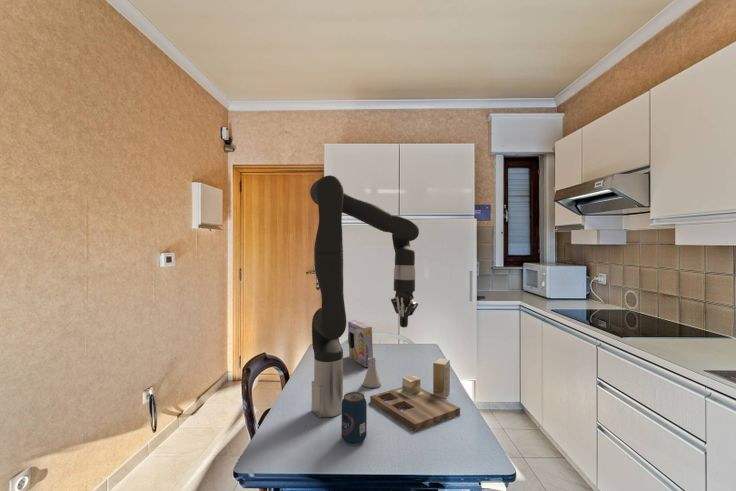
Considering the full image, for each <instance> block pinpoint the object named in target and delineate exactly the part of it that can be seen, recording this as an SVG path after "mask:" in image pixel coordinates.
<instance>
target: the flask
mask: <svg viewBox="0 0 736 491" xmlns="http://www.w3.org/2000/svg"><path fill="white" fill-rule="evenodd" d="M368 361H369V365H368V367H367V370H366V374H365V377H364V379H363V382H362V385H363V387H364V388H369V389H371V388H373V389H375V388H376V389H378V388H379V387H381V386H382V382H381V379H380V377H379V373H378V371H377V365H376V361H377V358H376V357H373V358H369V359H368Z"/></svg>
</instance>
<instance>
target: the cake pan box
mask: <svg viewBox="0 0 736 491" xmlns="http://www.w3.org/2000/svg"><path fill="white" fill-rule="evenodd" d="M347 328H348V329H347V331H348V333H347V342H348V356H349V358H350V359H352V360H354V361H355V362H356V363H358V364H360V365H361V366H363V367H364V368H368V365H369V361H368V359H369V358H374V355H373V354H374V350H373V349H374V348H373V329H372V328H373V327H372V326H370V325H368V324H366V323H365V322H363V321H362V322H361V321H359V320H357V319H353V320H347Z"/></svg>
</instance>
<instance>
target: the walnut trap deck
mask: <svg viewBox="0 0 736 491" xmlns="http://www.w3.org/2000/svg"><path fill="white" fill-rule="evenodd" d="M369 398H370V399H369V402H370V403H371V404H373V405H374V406H376V407H378V408H379V409H381V410H382V411H383V412H385V413H387V414H388V415H390V416H391V417H392V418H394V419H396V420H397V421H399V422H400V423H402V424H403V425H405V426H407V428H410V429H411V430H412V431H415V432H417V431H419V430H422V429H424V428H427V427H429V426H433V425H435V424H437V423H441V422H443V421H445V420H448V419H450V418H454V417H456V416H458V415H461V407H459V406H457V404H456V405H455V404H454V403H452V402H449V400H446V399H443V398H440V397H438V396H436V395H433V393H431V392H429V391H428V390H425V389H423V388H421V387H420V392H418V393H415V394H411V395H410V394H408V393H406V392H405V391H403V390H402V386H400V387H397V388H394V389H390V390H388V391H383V392H380V393H377V394H373V395H370V396H369ZM388 399H389V401H385V400H388ZM402 408H405V410H403V411H401V410H400V409H402Z"/></svg>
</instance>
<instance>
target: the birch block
mask: <svg viewBox="0 0 736 491" xmlns="http://www.w3.org/2000/svg"><path fill="white" fill-rule="evenodd" d="M401 384H402V386H401V387H402V390H403V391H405V392H406V393H408V394H410V395H411V394H415V393H418V392H420V388H421V378H419V377H417V376H414V375H413V374H411V375H408V376H403V377H402V382H401Z"/></svg>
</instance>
